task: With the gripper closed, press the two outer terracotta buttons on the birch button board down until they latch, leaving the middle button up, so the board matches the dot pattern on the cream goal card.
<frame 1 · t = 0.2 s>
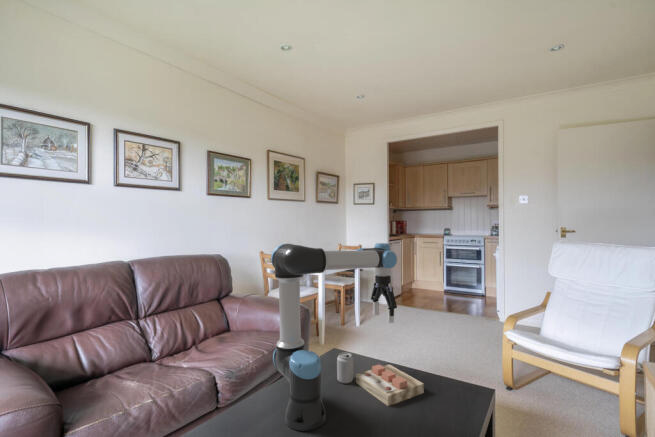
hand: (383, 318, 158), 27 cm above the table, fingers open, 13 cm apart
can: (345, 381, 151), on the table
board: (388, 387, 144), on the table
button a: (399, 383, 138), point 5 cm above the table, slide at 0.0 cm
button c: (378, 371, 150), point 5 cm above the table, slide at 0.0 cm
button b: (388, 377, 144), point 5 cm above the table, slide at 0.0 cm
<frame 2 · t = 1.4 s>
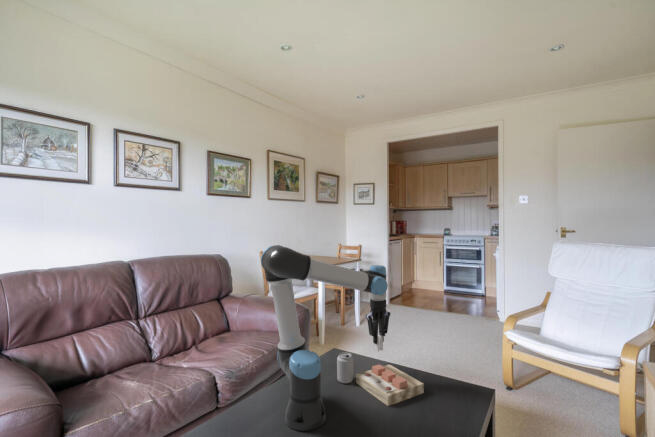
hand: (378, 349, 150), 14 cm above the table, fingers closed
nothing on the table moved.
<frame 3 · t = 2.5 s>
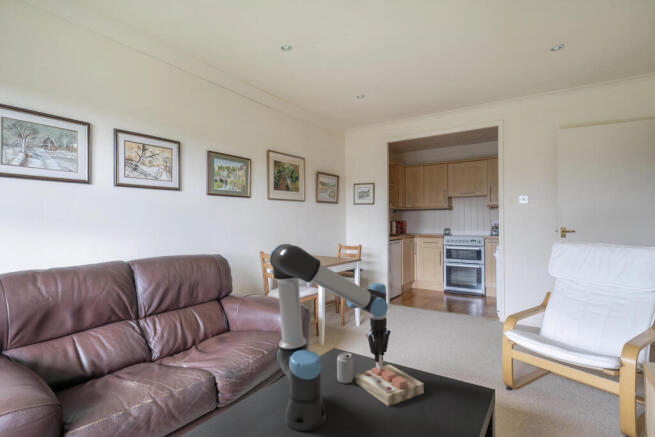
hand: (379, 368, 150), 6 cm above the table, fingers closed
button c: (378, 373, 150), point 4 cm above the table, slide at 0.9 cm, touching gripper
everything else where it was.
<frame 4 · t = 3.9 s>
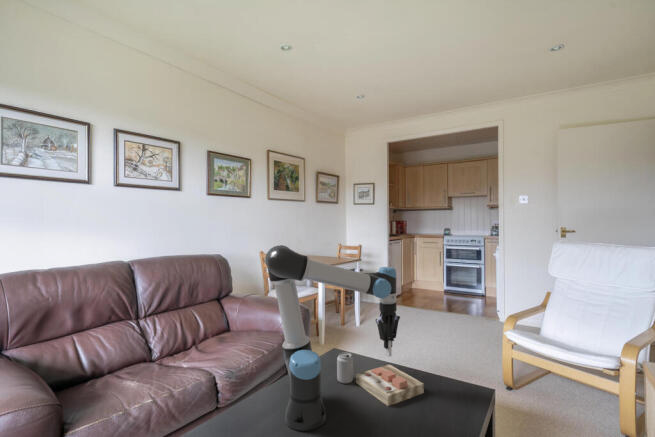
hand: (388, 355, 145), 14 cm above the table, fingers closed
button c: (378, 374, 150), point 3 cm above the table, slide at 1.4 cm
everything else where it was.
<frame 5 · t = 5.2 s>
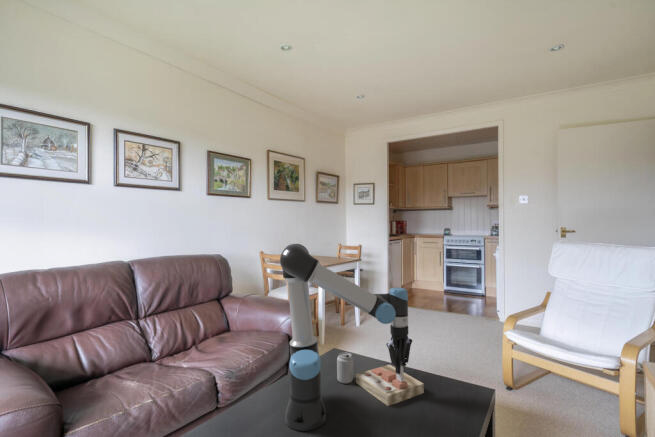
hand: (400, 380, 138), 6 cm above the table, fingers closed
button a: (399, 385, 138), point 4 cm above the table, slide at 0.7 cm, touching gripper
everything else where it was.
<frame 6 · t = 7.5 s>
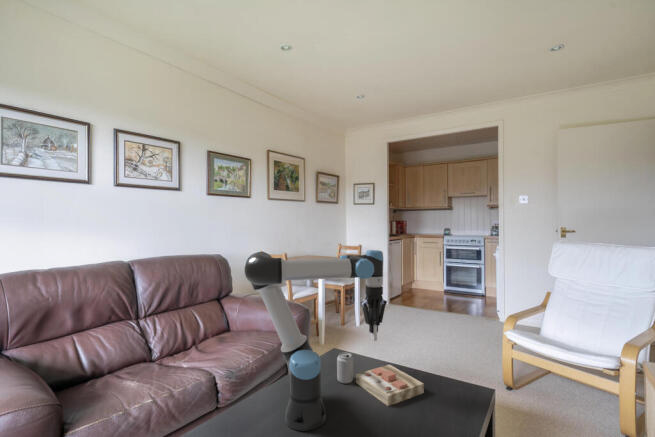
hand: (373, 339, 142), 22 cm above the table, fingers closed
button a: (399, 387, 138), point 3 cm above the table, slide at 1.4 cm
everything else where it was.
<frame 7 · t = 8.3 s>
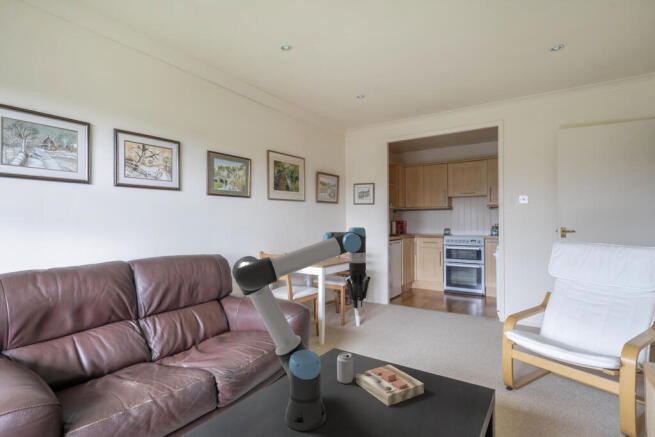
hand: (357, 315, 144), 32 cm above the table, fingers closed
nothing on the table moved.
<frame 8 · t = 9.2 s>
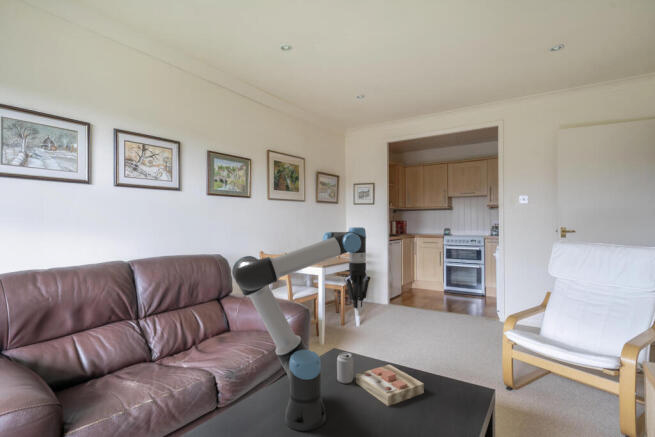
hand: (357, 315, 144), 32 cm above the table, fingers closed
nothing on the table moved.
at the end: button a slide at 1.4 cm; button c slide at 1.4 cm; button b slide at 0.0 cm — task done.
